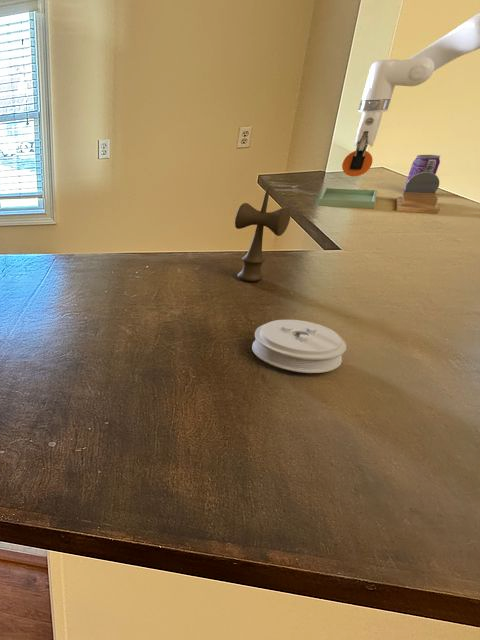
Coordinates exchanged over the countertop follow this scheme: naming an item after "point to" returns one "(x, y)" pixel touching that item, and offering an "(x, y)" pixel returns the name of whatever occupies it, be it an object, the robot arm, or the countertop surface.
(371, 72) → the robot arm
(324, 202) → the tray
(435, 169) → the beverage can
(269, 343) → the white round disc
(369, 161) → the orange disc
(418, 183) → the slate disc
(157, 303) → the countertop surface
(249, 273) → the kendama
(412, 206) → the disc rack
